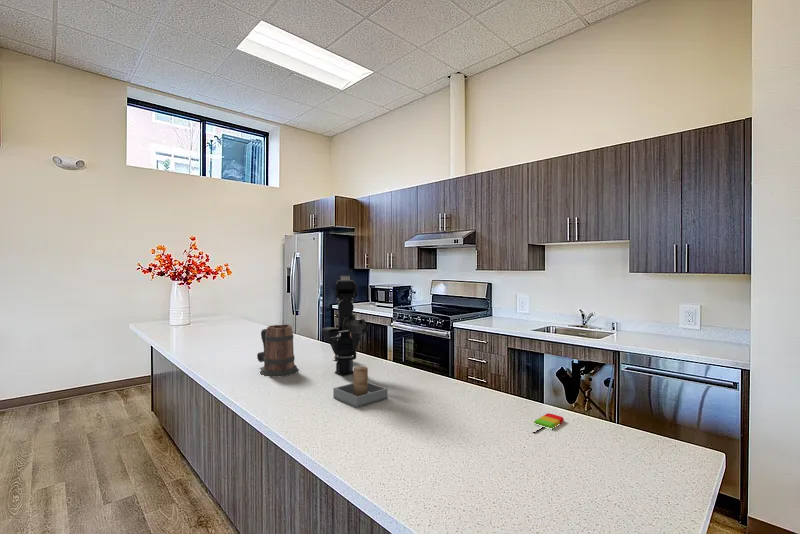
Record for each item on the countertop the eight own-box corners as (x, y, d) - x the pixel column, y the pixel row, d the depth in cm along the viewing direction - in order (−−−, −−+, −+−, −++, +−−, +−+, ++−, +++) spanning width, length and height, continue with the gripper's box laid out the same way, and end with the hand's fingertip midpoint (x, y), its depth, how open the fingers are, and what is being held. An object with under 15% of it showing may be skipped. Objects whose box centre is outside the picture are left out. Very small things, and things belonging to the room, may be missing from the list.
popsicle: (565, 423, 122) (565, 417, 122) (542, 438, 112) (542, 431, 111) (547, 418, 126) (547, 412, 126) (524, 432, 115) (524, 425, 115)
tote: (363, 389, 151) (363, 380, 151) (387, 398, 142) (387, 388, 142) (333, 397, 142) (333, 388, 142) (357, 408, 132) (357, 397, 132)
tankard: (307, 370, 178) (307, 325, 177) (274, 379, 164) (274, 330, 164) (274, 362, 192) (274, 320, 192) (242, 369, 178) (242, 325, 178)
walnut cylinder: (356, 393, 145) (356, 366, 145) (369, 394, 144) (369, 367, 143) (351, 398, 140) (351, 369, 140) (364, 399, 139) (364, 370, 139)
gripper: (337, 316, 144) (337, 359, 144) (377, 312, 157) (376, 351, 157) (320, 313, 152) (320, 354, 152) (359, 309, 165) (359, 347, 165)
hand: (345, 352), depth 157 cm, fingers open, 9 cm apart
